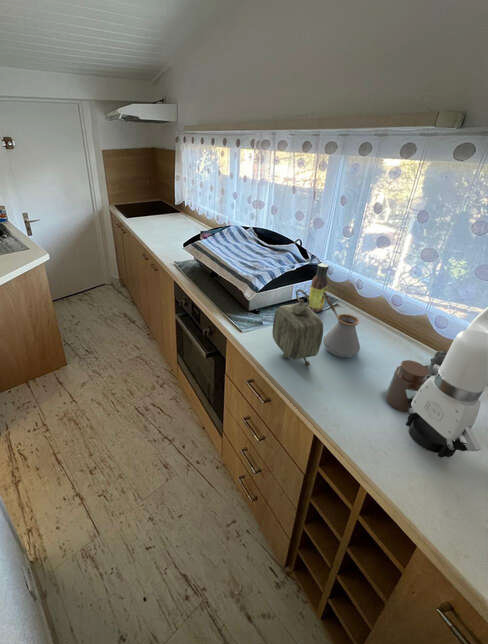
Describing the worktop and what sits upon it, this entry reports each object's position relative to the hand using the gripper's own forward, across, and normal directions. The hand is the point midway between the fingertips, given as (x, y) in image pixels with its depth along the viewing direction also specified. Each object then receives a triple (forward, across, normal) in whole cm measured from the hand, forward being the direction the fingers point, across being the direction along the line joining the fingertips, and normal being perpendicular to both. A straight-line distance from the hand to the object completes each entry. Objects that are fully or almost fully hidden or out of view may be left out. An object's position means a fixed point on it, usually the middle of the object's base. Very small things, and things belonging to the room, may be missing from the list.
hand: (427, 439), depth 72 cm
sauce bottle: (+3, -62, +13) cm, 63 cm away
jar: (+3, -13, +6) cm, 14 cm away
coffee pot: (+3, -41, +5) cm, 41 cm away
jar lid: (-3, 0, 0) cm, 3 cm away
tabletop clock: (+3, -37, -13) cm, 40 cm away
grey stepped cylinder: (+3, -17, +21) cm, 27 cm away
